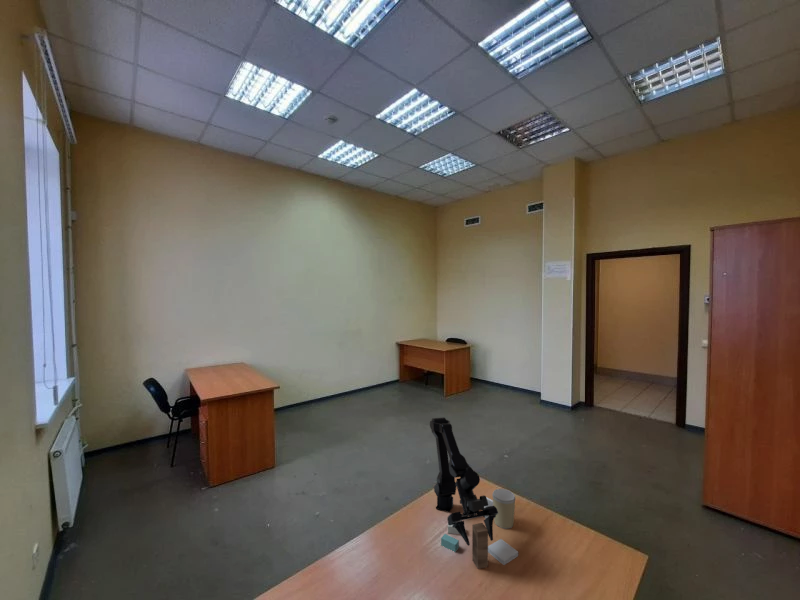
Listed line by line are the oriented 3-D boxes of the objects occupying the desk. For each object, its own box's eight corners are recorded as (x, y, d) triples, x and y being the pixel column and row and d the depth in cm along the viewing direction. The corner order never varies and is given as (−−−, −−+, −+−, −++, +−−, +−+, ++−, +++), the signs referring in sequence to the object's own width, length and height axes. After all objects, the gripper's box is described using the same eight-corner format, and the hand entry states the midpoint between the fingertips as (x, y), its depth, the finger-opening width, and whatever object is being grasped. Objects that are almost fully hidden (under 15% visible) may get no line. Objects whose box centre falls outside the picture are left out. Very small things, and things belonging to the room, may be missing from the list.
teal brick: (441, 545, 127) (441, 538, 127) (444, 541, 130) (444, 533, 130) (455, 552, 124) (455, 544, 124) (458, 548, 126) (458, 540, 126)
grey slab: (486, 552, 124) (486, 547, 124) (500, 543, 129) (500, 538, 129) (503, 566, 118) (503, 561, 118) (518, 557, 122) (518, 551, 122)
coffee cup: (512, 516, 144) (512, 488, 144) (517, 531, 135) (517, 501, 135) (490, 514, 145) (490, 487, 145) (494, 529, 136) (494, 500, 136)
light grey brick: (447, 533, 134) (447, 526, 134) (447, 528, 137) (447, 521, 137) (462, 535, 133) (462, 527, 133) (462, 530, 136) (462, 522, 136)
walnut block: (472, 560, 120) (472, 524, 120) (482, 558, 121) (482, 522, 121) (477, 569, 116) (477, 532, 116) (487, 566, 117) (487, 530, 117)
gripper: (450, 491, 121) (463, 543, 110) (495, 484, 126) (512, 533, 115) (442, 500, 129) (454, 549, 118) (485, 493, 133) (500, 540, 123)
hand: (480, 543), depth 118 cm, fingers open, 9 cm apart
